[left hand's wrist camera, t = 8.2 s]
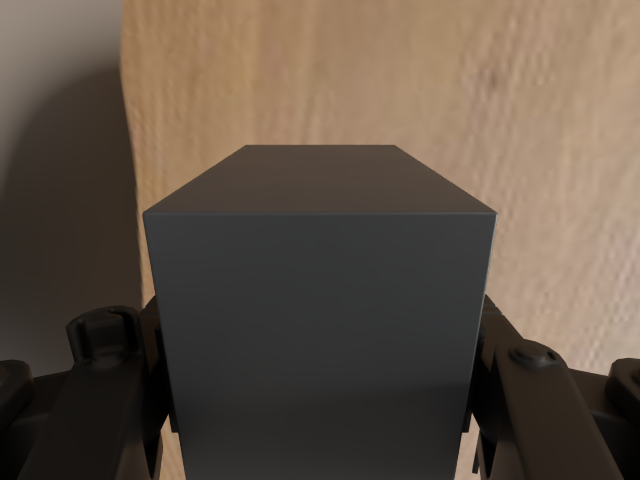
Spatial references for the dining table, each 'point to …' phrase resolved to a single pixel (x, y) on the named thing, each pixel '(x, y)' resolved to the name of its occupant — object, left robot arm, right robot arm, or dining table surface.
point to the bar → (320, 313)
